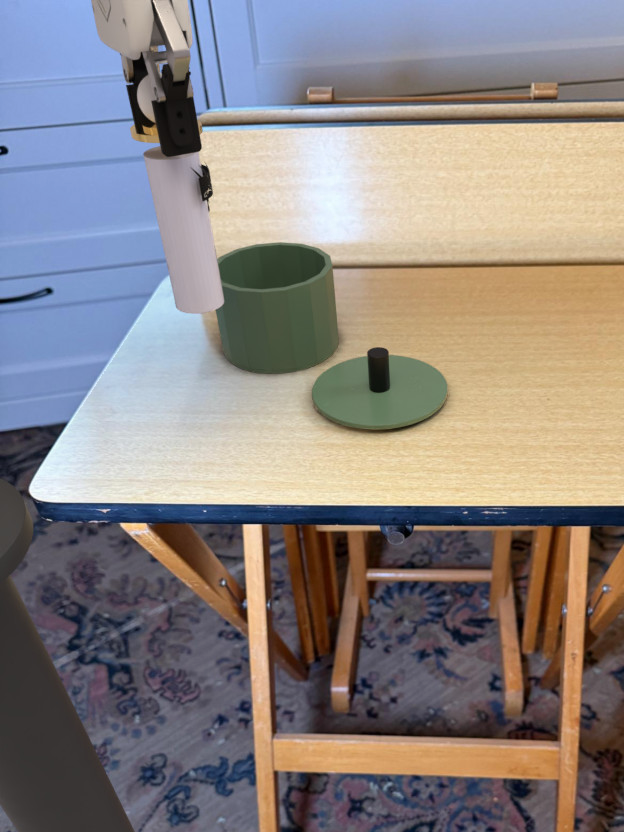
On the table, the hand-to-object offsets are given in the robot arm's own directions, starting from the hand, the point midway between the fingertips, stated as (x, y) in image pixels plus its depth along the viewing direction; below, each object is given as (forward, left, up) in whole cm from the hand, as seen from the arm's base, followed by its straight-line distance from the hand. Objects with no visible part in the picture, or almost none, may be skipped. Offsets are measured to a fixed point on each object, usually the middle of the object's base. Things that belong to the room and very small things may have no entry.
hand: (168, 141), depth 66 cm
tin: (+14, +17, -30) cm, 37 cm away
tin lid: (+18, -1, -30) cm, 35 cm away
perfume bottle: (0, 0, -15) cm, 15 cm away
